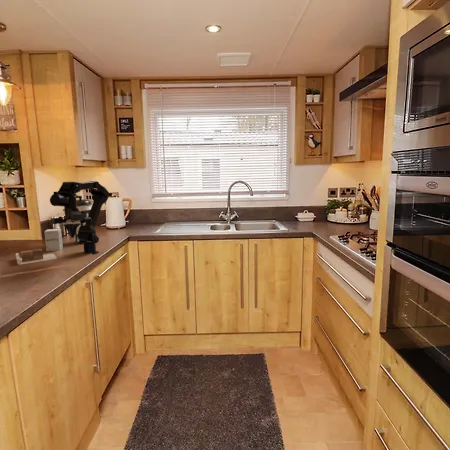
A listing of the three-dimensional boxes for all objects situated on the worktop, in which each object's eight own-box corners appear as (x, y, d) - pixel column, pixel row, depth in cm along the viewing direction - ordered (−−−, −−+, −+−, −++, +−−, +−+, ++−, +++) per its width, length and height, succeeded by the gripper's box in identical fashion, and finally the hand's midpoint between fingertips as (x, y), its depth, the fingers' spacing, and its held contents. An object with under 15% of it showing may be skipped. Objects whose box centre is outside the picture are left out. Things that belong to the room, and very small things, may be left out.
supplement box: (46, 253, 179) (43, 231, 177) (49, 250, 186) (47, 229, 184) (60, 252, 181) (58, 230, 179) (63, 249, 188) (61, 228, 186)
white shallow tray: (53, 255, 174) (52, 248, 173) (57, 260, 164) (56, 252, 163) (16, 261, 164) (15, 253, 164) (18, 267, 154) (17, 258, 153)
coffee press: (65, 244, 202) (59, 196, 197) (86, 238, 216) (82, 194, 211) (83, 246, 194) (78, 196, 189) (104, 241, 208) (100, 194, 203)
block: (41, 248, 166) (20, 251, 161) (42, 250, 163) (21, 253, 158) (42, 257, 167) (21, 260, 162) (43, 258, 164) (22, 262, 158)
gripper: (58, 205, 148) (61, 239, 148) (96, 205, 163) (98, 236, 163) (48, 207, 155) (50, 239, 155) (85, 207, 170) (87, 236, 170)
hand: (72, 237), depth 161 cm, fingers closed
